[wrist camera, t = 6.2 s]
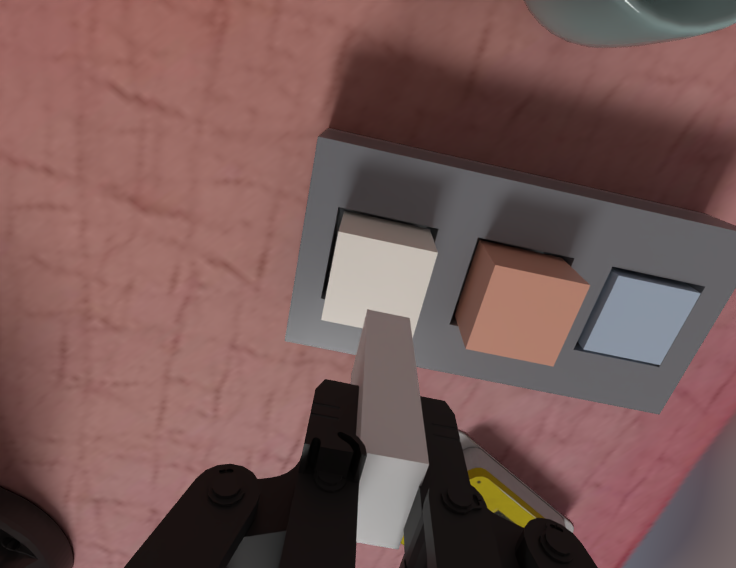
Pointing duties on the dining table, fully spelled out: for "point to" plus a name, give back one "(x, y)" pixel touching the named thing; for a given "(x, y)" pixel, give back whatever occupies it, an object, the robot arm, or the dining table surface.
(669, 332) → the blue key
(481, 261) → the orange key
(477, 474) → the emergency button
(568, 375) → the key panel
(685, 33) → the cup
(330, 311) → the ivory key
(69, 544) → the robot arm
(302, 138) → the dining table surface
